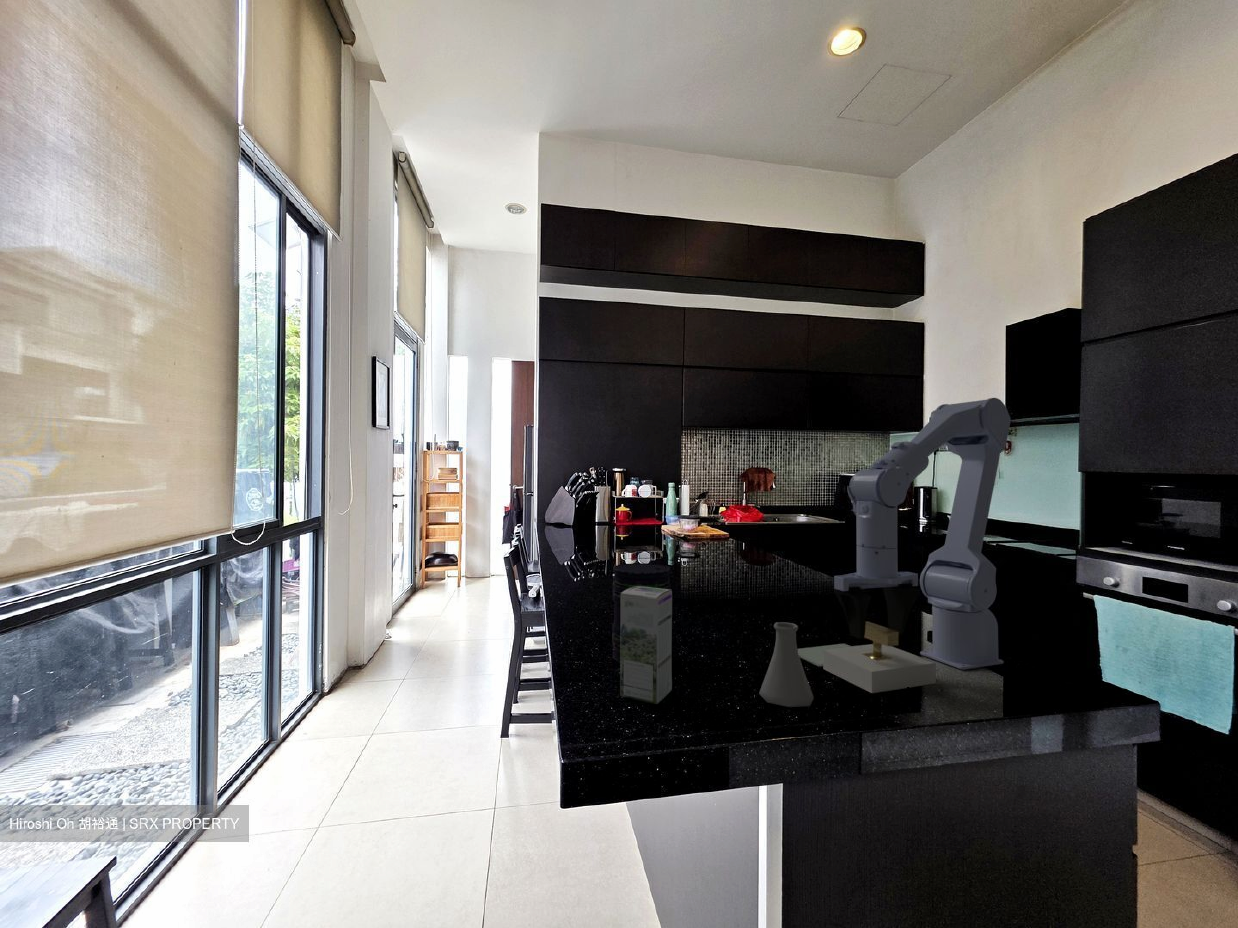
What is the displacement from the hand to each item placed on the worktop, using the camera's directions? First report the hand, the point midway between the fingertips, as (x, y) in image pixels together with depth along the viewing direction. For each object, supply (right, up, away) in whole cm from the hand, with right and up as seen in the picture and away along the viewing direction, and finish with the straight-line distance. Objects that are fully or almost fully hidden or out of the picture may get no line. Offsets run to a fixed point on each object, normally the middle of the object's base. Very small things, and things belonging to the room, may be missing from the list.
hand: (877, 634), depth 81 cm
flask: (-17, -6, -8) cm, 20 cm away
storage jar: (-36, -7, +8) cm, 38 cm away
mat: (-3, -7, +9) cm, 12 cm away
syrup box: (-36, -6, -8) cm, 37 cm away
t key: (0, -6, 0) cm, 6 cm away
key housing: (0, -6, 0) cm, 6 cm away
